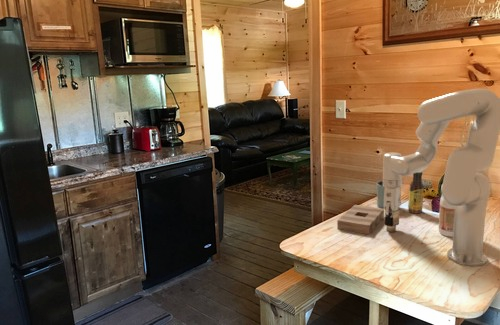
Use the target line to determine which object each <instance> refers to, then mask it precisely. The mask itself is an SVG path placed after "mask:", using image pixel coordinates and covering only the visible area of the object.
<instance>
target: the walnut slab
mask: <svg viewBox="0 0 500 325" xmlns="http://www.w3.org/2000/svg"><path fill="white" fill-rule="evenodd" d="M382 220H384V209H382V208H379V207H372V206H367V205H358V204H354V205H353V206H351V208H349V209H348V210H347V211H346V212H345V213H344V214H343V215H341V216H340V217H339V218H338V219H337V221H336V222H337V229H338V230H343V231H347V232H354V233H359V234H365V235H370V234H371V233H372V232H373V230H374V229H375V228H376V227H377V226H378V225H379V223H380V222H382Z"/></svg>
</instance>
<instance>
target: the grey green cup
mask: <svg viewBox="0 0 500 325" xmlns="http://www.w3.org/2000/svg"><path fill="white" fill-rule="evenodd" d="M384 190H385V187H384V186H383V180H379V181H377V182H376V198H377V199H376V206H377V208H381V209H384Z"/></svg>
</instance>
